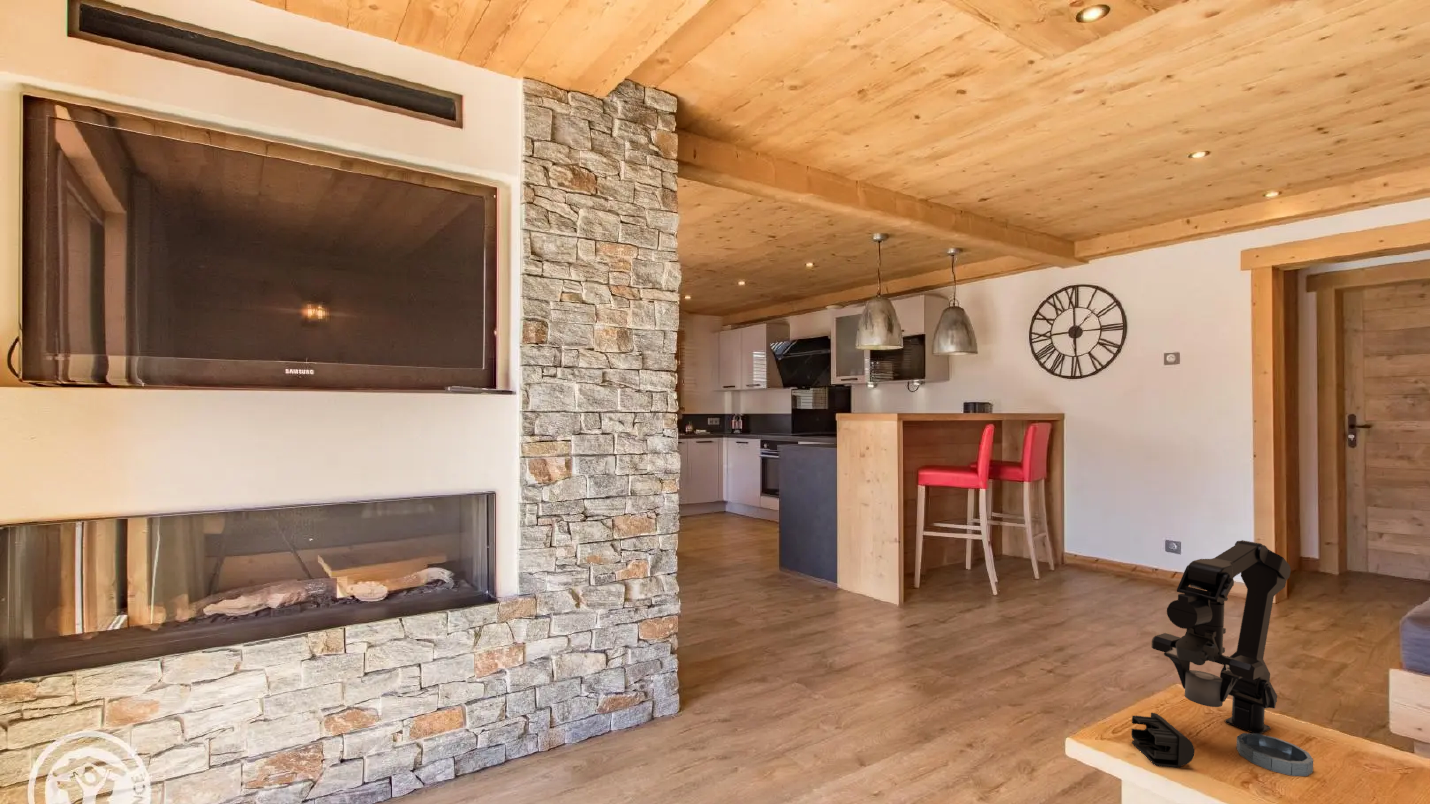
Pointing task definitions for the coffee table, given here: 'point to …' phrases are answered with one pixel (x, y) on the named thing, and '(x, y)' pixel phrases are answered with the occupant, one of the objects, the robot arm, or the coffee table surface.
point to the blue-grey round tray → (1274, 754)
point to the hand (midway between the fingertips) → (1203, 694)
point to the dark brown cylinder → (1203, 688)
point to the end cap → (1161, 742)
